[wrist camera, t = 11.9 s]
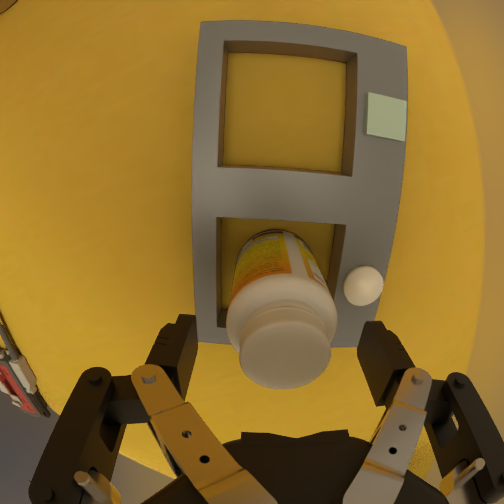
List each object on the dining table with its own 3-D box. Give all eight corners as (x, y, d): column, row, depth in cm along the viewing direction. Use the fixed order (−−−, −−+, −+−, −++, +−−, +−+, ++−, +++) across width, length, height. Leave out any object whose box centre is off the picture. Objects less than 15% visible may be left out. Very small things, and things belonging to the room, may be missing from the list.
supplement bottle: (226, 283, 22) (203, 382, 12) (254, 215, 20) (247, 284, 10) (293, 307, 22) (310, 410, 13) (326, 245, 20) (374, 328, 11)
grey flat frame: (207, 34, 15) (198, 18, 12) (391, 55, 15) (410, 44, 12) (203, 323, 23) (195, 346, 20) (357, 328, 23) (368, 351, 20)
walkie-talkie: (63, 414, 31) (1, 301, 24) (51, 434, 27) (-20, 319, 20) (28, 402, 32) (-28, 298, 25) (17, 419, 28) (-46, 313, 21)
